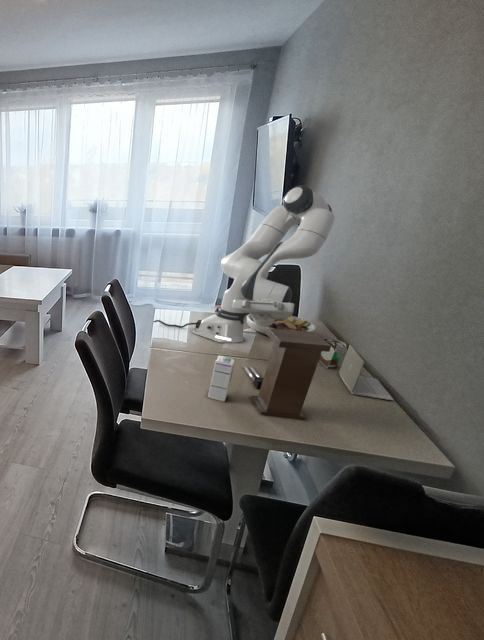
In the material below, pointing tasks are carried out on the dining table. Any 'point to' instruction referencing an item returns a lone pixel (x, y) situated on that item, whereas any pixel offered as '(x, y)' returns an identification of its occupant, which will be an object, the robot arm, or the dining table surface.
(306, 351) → the stand
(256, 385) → the twin chrome rods
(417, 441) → the dining table surface
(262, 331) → the bowl
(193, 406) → the dining table surface
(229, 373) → the syrup box
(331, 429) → the dining table surface
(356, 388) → the laptop
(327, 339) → the food container
